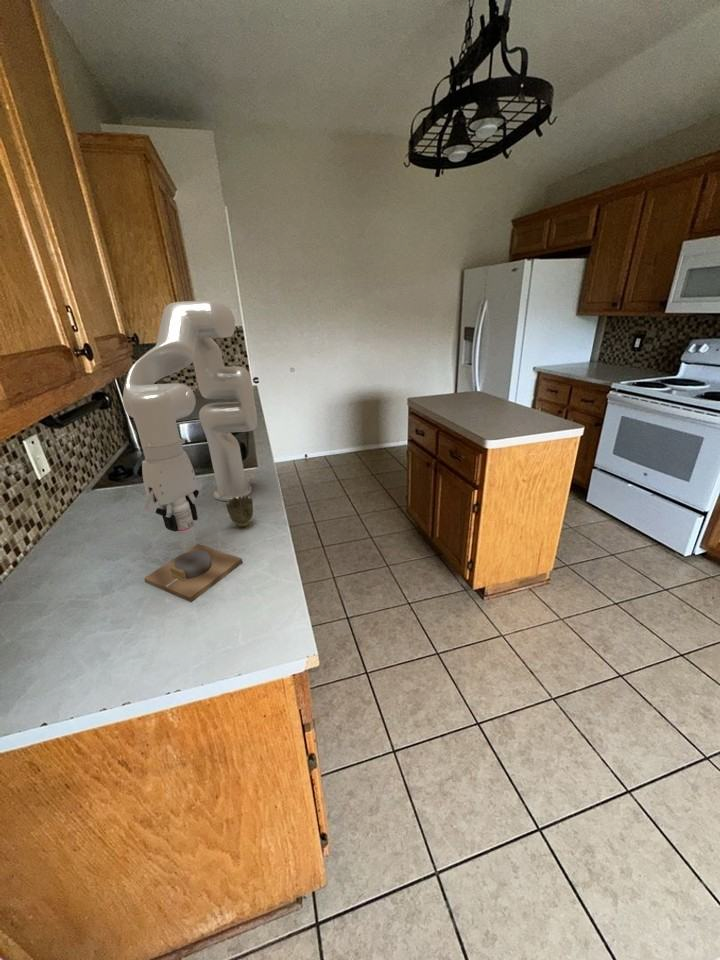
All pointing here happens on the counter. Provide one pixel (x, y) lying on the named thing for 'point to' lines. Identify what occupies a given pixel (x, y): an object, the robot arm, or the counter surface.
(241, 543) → the counter surface
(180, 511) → the pill bottle
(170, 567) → the board
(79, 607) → the counter surface
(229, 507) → the dark rounded piece
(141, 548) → the counter surface
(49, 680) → the counter surface
